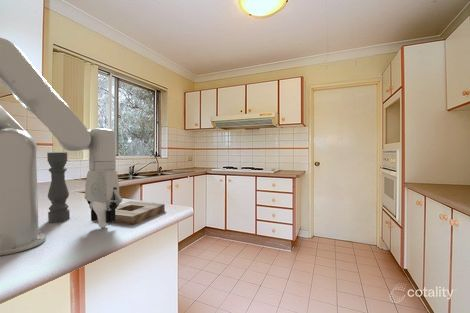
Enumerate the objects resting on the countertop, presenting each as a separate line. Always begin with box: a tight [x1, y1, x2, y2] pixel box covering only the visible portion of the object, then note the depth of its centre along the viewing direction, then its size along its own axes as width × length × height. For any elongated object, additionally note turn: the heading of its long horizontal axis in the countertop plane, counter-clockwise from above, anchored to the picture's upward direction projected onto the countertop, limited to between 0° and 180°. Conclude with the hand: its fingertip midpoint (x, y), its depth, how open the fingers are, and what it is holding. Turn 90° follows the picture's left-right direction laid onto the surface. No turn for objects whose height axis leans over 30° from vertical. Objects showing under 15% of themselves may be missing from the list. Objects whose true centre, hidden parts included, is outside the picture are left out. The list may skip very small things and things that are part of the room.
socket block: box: [96, 200, 165, 226], centre depth 87 cm, size 18×18×3 cm
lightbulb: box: [92, 201, 112, 229], centre depth 73 cm, size 6×6×11 cm
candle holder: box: [46, 152, 71, 224], centre depth 81 cm, size 6×6×25 cm
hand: (103, 220), depth 73 cm, fingers closed on lightbulb, 5 cm apart
